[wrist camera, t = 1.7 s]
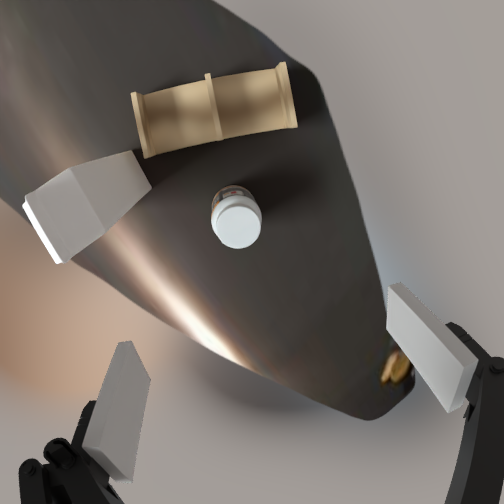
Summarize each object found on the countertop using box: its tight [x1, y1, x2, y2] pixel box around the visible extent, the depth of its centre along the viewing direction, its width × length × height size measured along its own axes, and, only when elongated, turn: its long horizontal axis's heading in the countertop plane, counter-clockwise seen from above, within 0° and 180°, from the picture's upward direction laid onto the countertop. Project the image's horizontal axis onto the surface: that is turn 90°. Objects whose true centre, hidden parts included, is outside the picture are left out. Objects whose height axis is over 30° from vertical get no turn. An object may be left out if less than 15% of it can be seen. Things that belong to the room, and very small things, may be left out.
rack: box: [131, 62, 298, 159], centre depth 35 cm, size 8×18×5 cm, turn 100°
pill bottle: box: [211, 185, 262, 248], centre depth 38 cm, size 6×6×10 cm
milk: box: [23, 151, 152, 264], centre depth 29 cm, size 6×6×22 cm
